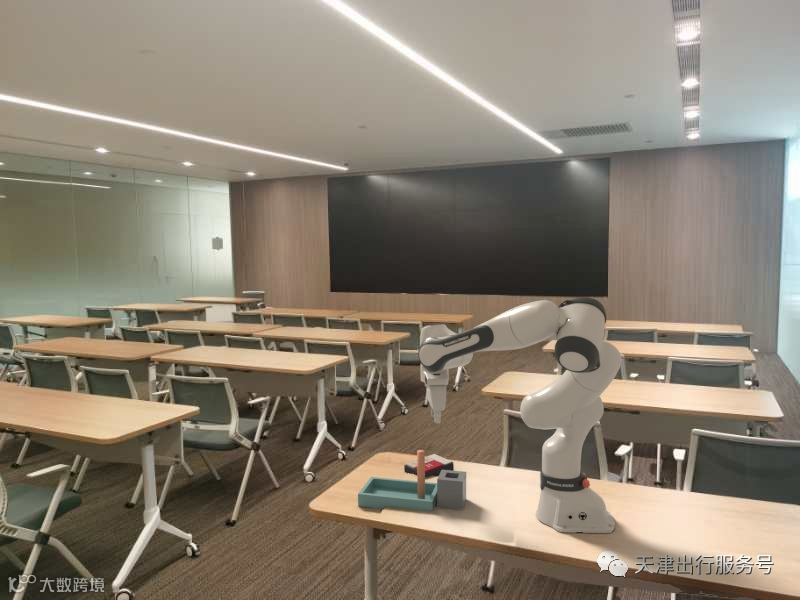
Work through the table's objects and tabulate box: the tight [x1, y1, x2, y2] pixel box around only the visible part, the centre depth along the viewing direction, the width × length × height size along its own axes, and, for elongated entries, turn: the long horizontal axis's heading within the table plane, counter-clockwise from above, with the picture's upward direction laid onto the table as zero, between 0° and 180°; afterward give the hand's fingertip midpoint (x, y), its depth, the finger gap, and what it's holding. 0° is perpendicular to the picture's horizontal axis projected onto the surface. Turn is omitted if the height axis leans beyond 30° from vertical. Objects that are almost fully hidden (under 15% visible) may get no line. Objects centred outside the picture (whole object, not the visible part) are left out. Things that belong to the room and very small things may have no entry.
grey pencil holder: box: [436, 470, 467, 511], centre depth 174 cm, size 8×8×10 cm
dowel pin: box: [416, 449, 426, 499], centre depth 176 cm, size 2×2×16 cm
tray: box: [357, 476, 437, 512], centre depth 179 cm, size 24×14×4 cm, turn 76°
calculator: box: [403, 453, 455, 479], centre depth 203 cm, size 11×4×15 cm
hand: (435, 419), depth 173 cm, fingers open, 8 cm apart
